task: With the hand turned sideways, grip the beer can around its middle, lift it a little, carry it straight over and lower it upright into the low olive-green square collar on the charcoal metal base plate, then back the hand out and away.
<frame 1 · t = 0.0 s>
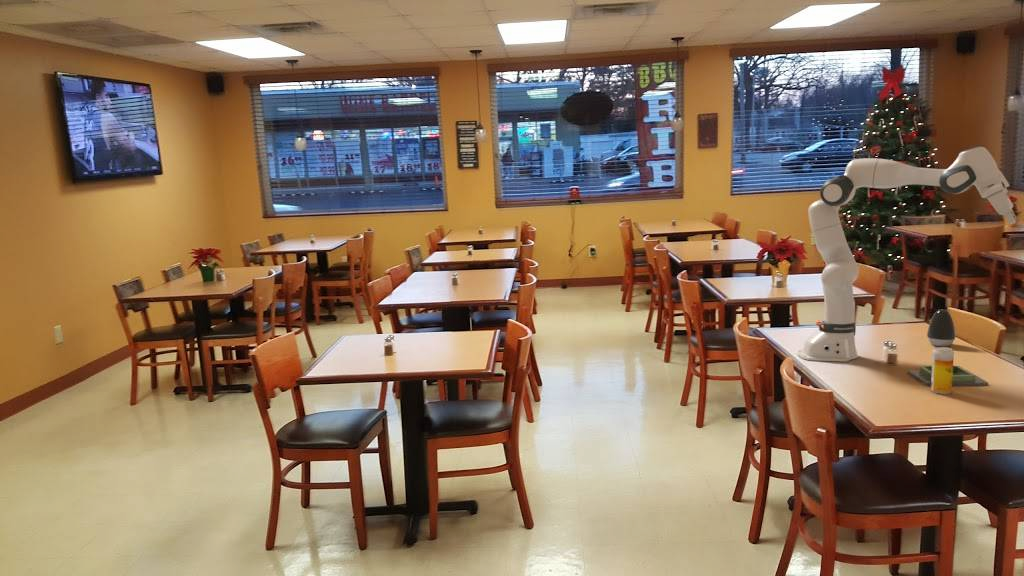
hand: (1014, 222, 255), 54 cm above the table, tool tilted 30°, fingers open, 8 cm apart
green and grey tray: (946, 378, 261), on the table
beer can: (941, 392, 247), on the table
dark grey egg shape: (940, 345, 305), on the table
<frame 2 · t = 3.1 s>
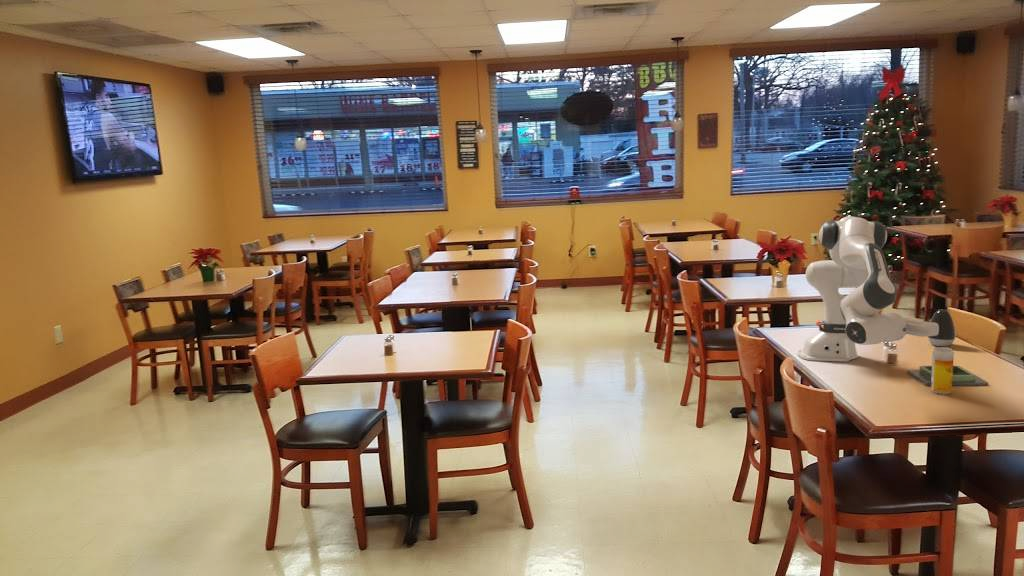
hand: (921, 322, 239), 25 cm above the table, tool horizontal, fingers open, 8 cm apart
nothing on the table moved.
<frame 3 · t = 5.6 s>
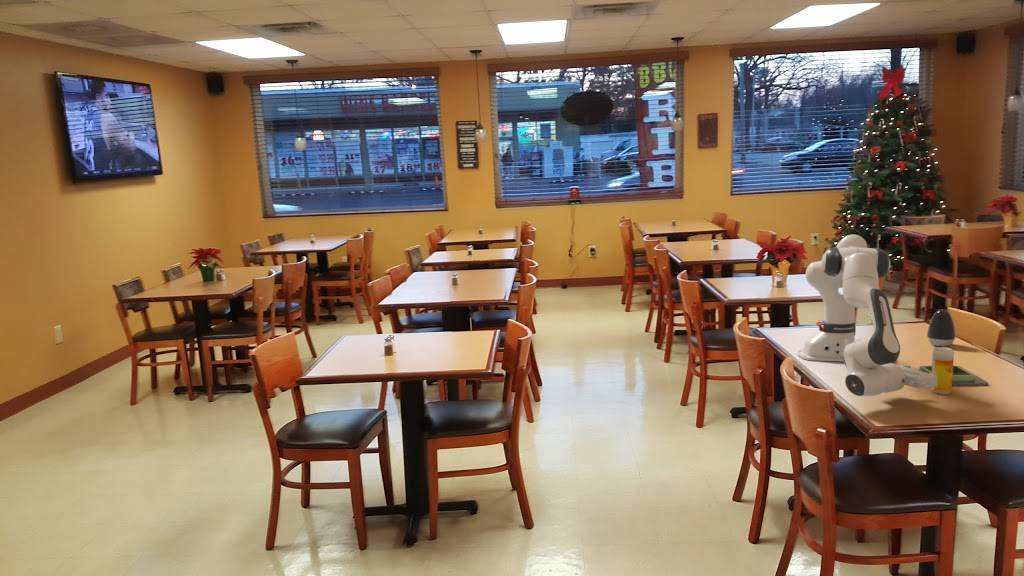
hand: (921, 371, 242), 9 cm above the table, tool horizontal, fingers open, 8 cm apart
nothing on the table moved.
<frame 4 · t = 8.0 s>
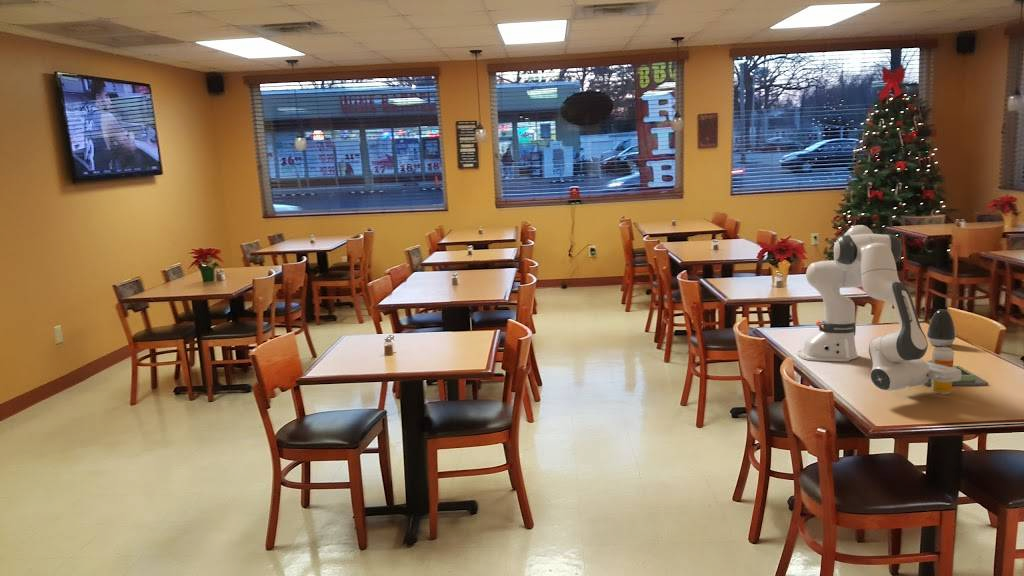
hand: (944, 365, 246), 9 cm above the table, tool horizontal, fingers closed on beer can, 6 cm apart
beer can: (941, 392, 247), on the table, touching gripper
everything else where it was.
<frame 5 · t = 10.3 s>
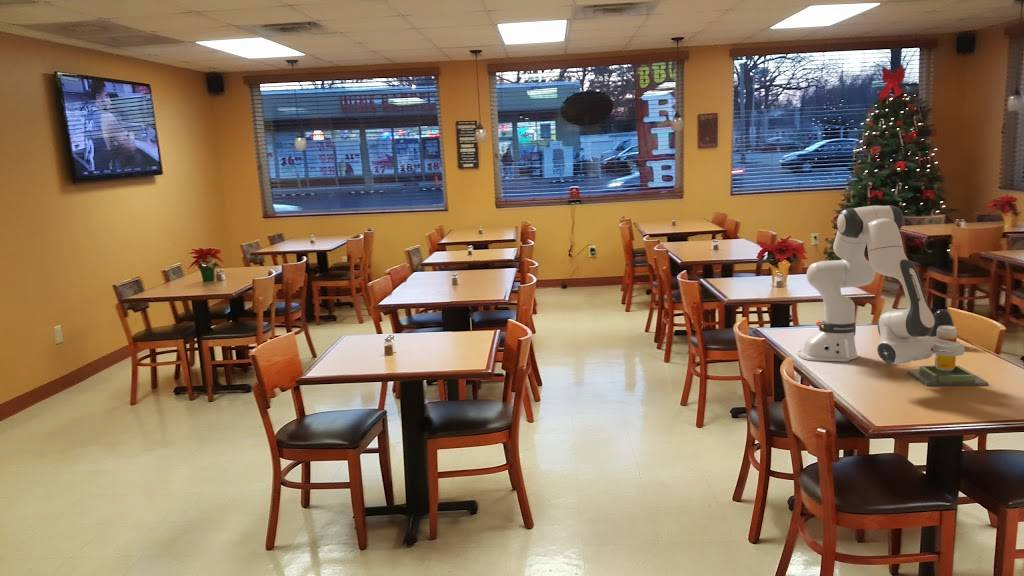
hand: (948, 341, 256), 14 cm above the table, tool horizontal, fingers closed on beer can, 6 cm apart
beer can: (944, 369, 258), point 4 cm above the table, touching gripper
everything else where it was.
when the fingers open (11 cm above the table, at t = 12.2 s): beer can stays where it is, resting on green and grey tray.
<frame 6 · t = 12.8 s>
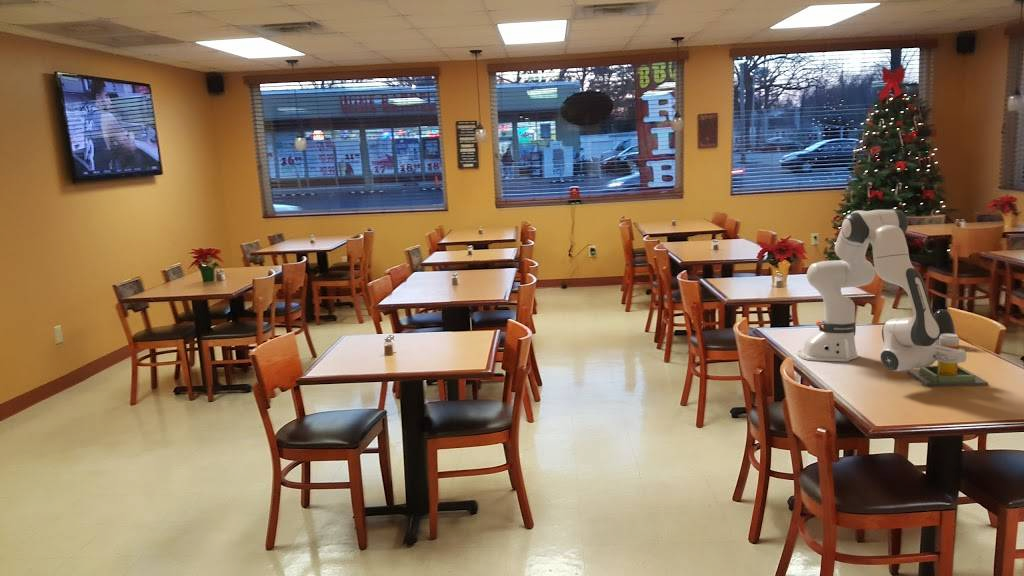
hand: (949, 348, 259), 11 cm above the table, tool horizontal, fingers open, 8 cm apart
beer can: (947, 376, 261), point 1 cm above the table, touching green and grey tray
everything else where it was.
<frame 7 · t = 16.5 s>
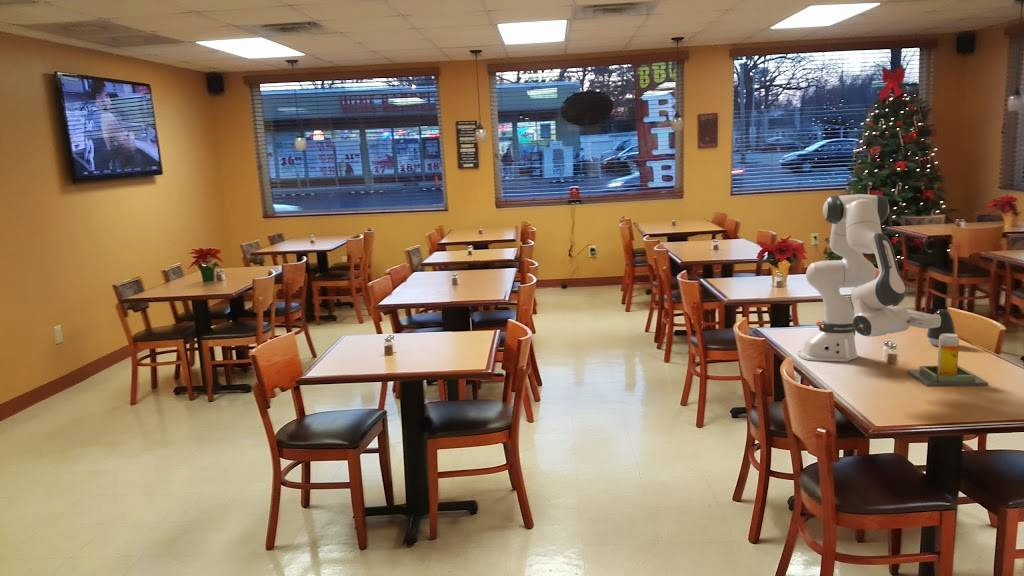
hand: (925, 313, 252), 25 cm above the table, tool horizontal, fingers open, 8 cm apart
nothing on the table moved.
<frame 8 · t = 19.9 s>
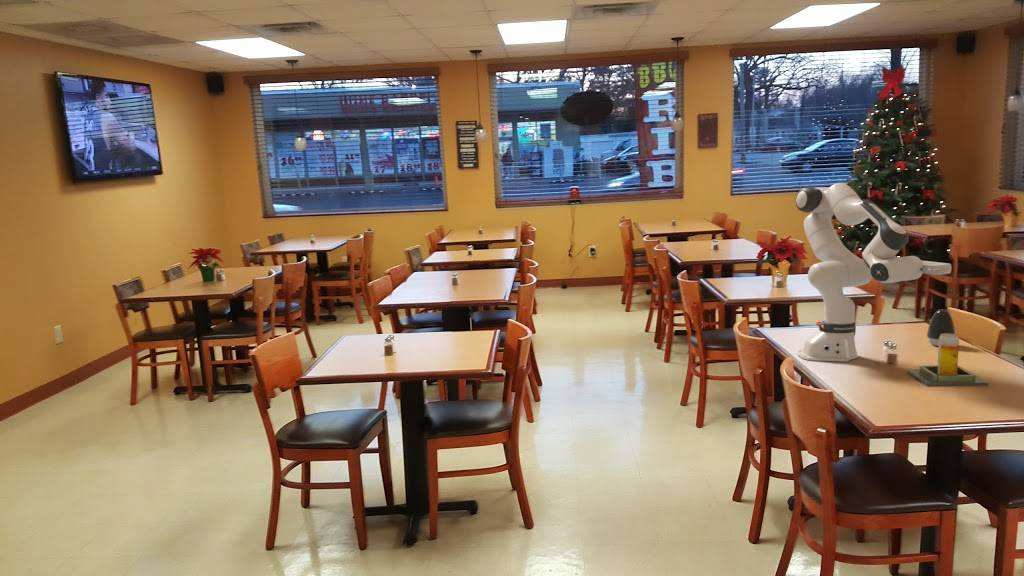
hand: (936, 264, 275), 38 cm above the table, tool horizontal, fingers open, 8 cm apart
nothing on the table moved.
at the end: beer can 0.1 cm off-centre on the green and grey tray, point 0.8 cm above the green and grey tray's base; beer can tilted 0°; the gripper is holding nothing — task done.
